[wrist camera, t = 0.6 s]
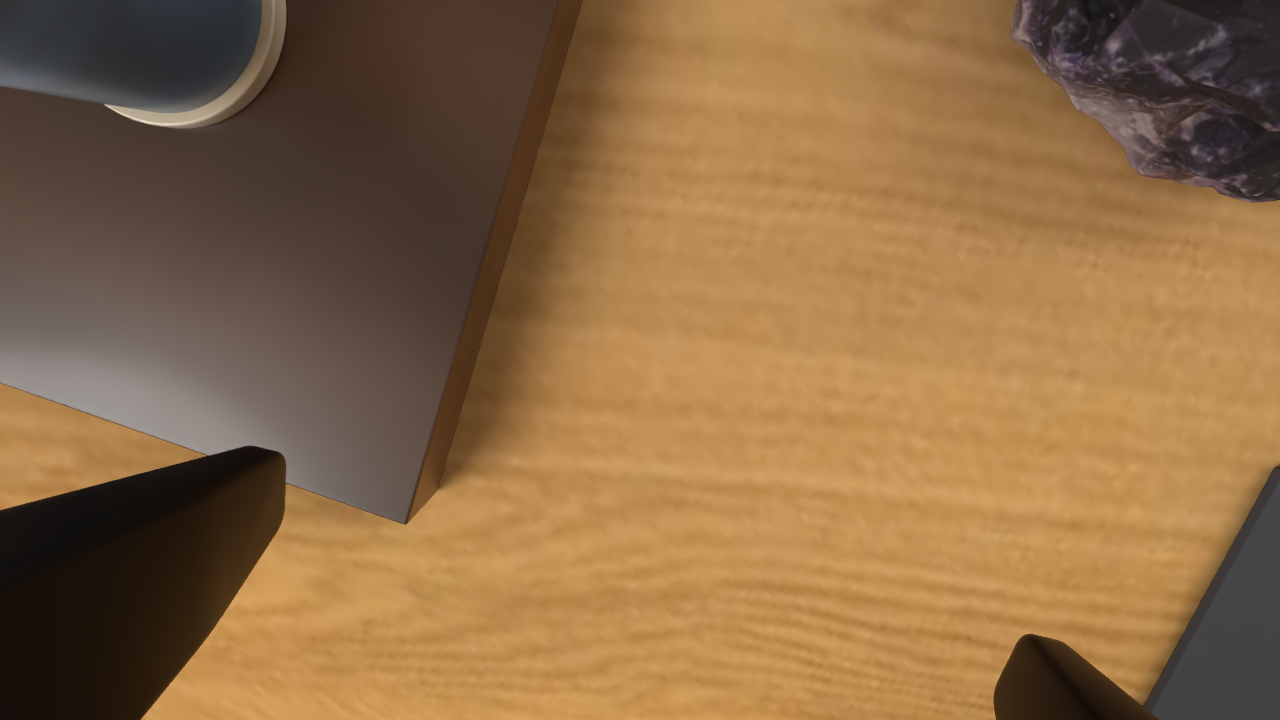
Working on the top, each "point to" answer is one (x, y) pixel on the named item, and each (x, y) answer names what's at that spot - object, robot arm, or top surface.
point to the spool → (144, 54)
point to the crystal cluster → (1171, 83)
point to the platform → (287, 243)
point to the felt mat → (1232, 632)
